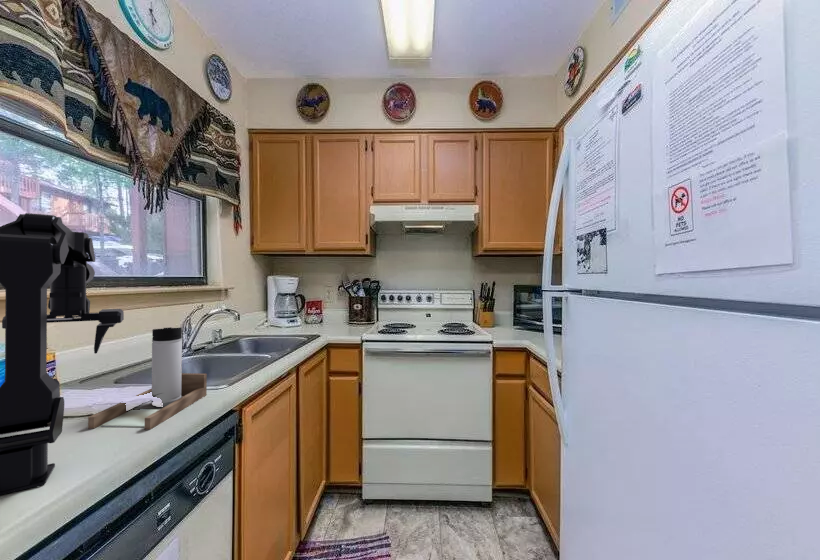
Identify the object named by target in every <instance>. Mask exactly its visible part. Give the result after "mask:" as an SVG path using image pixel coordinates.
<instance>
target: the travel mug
mask: <svg viewBox="0 0 820 560" xmlns="http://www.w3.org/2000/svg"><path fill="white" fill-rule="evenodd" d="M182 334H183V328H182V327H163V328H154V329H152V338H151V339H152V340H151V388H152V396H153V397H157V398H160V399H161V400H162V403H163V407H162V408H164V407H166V406H167V405H169V404H171V403H173V402H175V401H176V400H178V399H180V398H182V396H181V381H182V373H183V372H182V370H183V369H182V362H183V361H182V359H183V335H182Z"/></svg>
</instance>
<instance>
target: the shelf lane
mask: <svg viewBox="0 0 820 560" xmlns="http://www.w3.org/2000/svg"><path fill="white" fill-rule="evenodd" d="M207 378H208V374H207V373H197V372H196V373H193V372H192V373H191V372H190V373H189V372H188V373H187V372H186V373H185V372H182V381H181V398H180V399H178V400H176V401H175V402H173V403H171V404H169V405H167V406H166V407H161V408H160V409H159V408H158V409H151V408H149V409H148V408H147V409H146V408H140V410H133V409H132V410H130V411H128V412H127V411H126V405H125V404H126V403H121V402H119V403H117V404H114V405H112V406H110V407H108V408H105V409H103V410H101V411H98V412H95V414H92V415H90V416H88V417H87V428H88V430H89V429H90V430H92V429H94V430H95V429H96V428H99V427H100V426H101V427H111V428H115V427H117V428H119V427H120V428H144V430H147V431H148V430H152V429H153V428H156V427H157V426H159V425H160V424H162V423H164V422H165V421H167V420H168V419H171V418H172V417H173V416H175V415H176V414H178V413H180V412H182V411H184V410H185V409H186V408H187V407H190V406H191V405H193V404H195V403H196V402H198V401H200V400H201V399H203V398H204V397H205V396H207V390H208V389H207V383H208V379H207ZM150 392H152V387H151V388H149V389H148V390H145V391H142V392H140V393H139V394H136V395H135V396H139V395H144V394H147V393H150Z"/></svg>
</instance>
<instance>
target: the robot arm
mask: <svg viewBox="0 0 820 560" xmlns="http://www.w3.org/2000/svg"><path fill="white" fill-rule="evenodd" d="M94 262H96V256H95V248H94V243H93V238H92V237H90V236H89V234H88V233H87V232H82V231H73V230H71V229H70V228H69V227H68V226H67V225H66V224H65V223H64V222H63V219H62V218H61V217H59V216H56V215H53V214H42V213H40V214H39V213H28V212H26V213H20V214H18V217H16V219H15V220H14V221H11V222H8V223H6V224H3V225H1V226H0V286H2V287H3V288H4V290H5V297H4V298H5V299H4V300H5V302H4V303H5V308H4V309H5V312H4V313H5V315H4V316H3V317H2V320H1V328H2V329H4V330H5V332H4V334H5V335H4V338H5V339H4V345H5V346H4V348H5V349H4V357H5V358H4V381H3V382H2V384H0V385H1V386H0V436H1V437H0V496H3V495H6V494H11V493H14V492H18V491H22V490H23V491H24V490H27V489H31V488H35V487H40V486H43V485H45V484H46V483H47V482H48V480H49V478H50V476H51V474H52V473H53V471H54V469H55V467H56V463H54V462H53V463H49V461H48V458H49V457H48V455H49V454H48V452H49V449H48V447H49V445H48V444H54V443H55V442H56V441H57V439H58V438H59V437H60V435H61V434H62V433H63V423H64V414H65V399H64V397H63V396H61V387H60V386H61V382H60V380H58V379H57V378H53V377H51V375H50V374H49V373H48V371H47V358H48V357H47V353H48V352H47V351H48V350H47V349H48V346H47V341H48V340H47V339H48V335H47V333H48V332H47V331H48V329H47V328H48V323H51V324H52V323H70V322H71V323H72V322H74V323H76V322H90V321H91V322H94V321H98V322H99V323H98V324H97V325H96V327H95V336H94V345H93V351H94V354H98V353H99V349H100V347H101V345H102V343H103V340H104V338H105V336H106V334H107V332H108V330H109V328H113V327H115V326H116V325H117V324H121V323H122V322H124V316H125V315H124V313H125V312H124V310H123V309H121V308H105V309H101V310H99V311H98V312H90V308H91V301H90V299H89V298H88V297H87V283H90V282H91V281H93V279H94V277H95V275H96V274H95V273H96V271H95V269H94V267H93V266H92V265H91V264H89V263H94ZM48 288H50V289H49V290H50V291H49V300H48ZM48 310H50V311H49V313H48ZM57 317H58V318H57ZM45 428H49V429H45ZM38 429H44V430H38ZM33 430H38V431H33ZM26 431H32V432H27V433H22V432H26ZM20 432H21V434H14V433H20ZM9 434H13V435H9ZM3 435H7V436H4V437H2V436H3Z"/></svg>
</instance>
